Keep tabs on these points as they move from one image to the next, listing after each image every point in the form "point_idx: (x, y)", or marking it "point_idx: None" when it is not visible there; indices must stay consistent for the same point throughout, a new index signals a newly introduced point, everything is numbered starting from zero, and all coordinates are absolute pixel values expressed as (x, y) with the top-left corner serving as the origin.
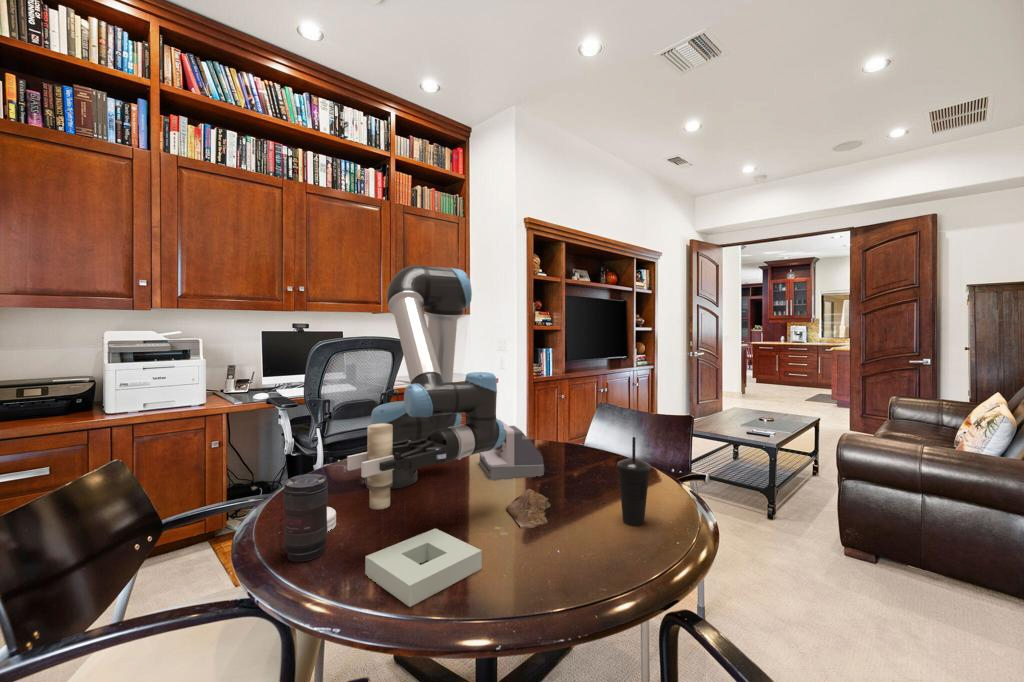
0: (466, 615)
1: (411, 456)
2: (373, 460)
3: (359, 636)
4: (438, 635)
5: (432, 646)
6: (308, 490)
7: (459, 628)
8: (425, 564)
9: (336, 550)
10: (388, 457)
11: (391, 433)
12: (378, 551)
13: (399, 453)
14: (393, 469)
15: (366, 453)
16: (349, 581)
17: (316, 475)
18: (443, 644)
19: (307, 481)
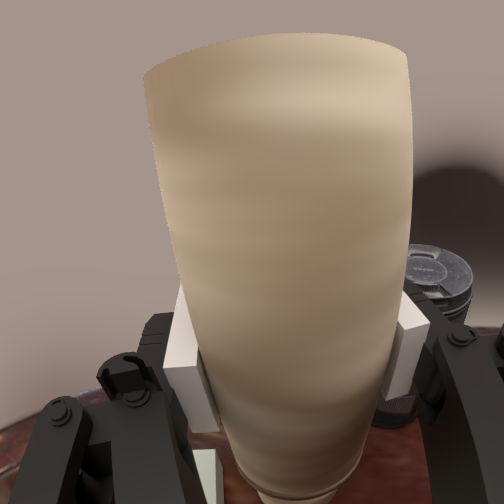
0: (7, 478)
1: (47, 459)
2: None
3: (95, 393)
4: (19, 437)
5: (18, 422)
6: None
7: (5, 456)
8: None
9: (375, 449)
10: (171, 336)
11: (162, 154)
12: (213, 478)
13: (101, 368)
14: (192, 430)
15: None
16: (224, 439)
17: (462, 283)
18: (10, 429)
19: (420, 271)
